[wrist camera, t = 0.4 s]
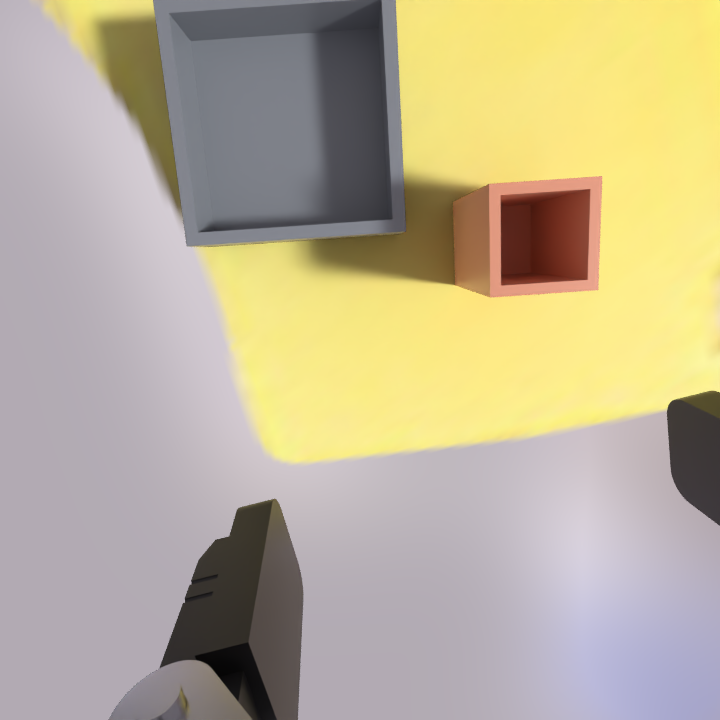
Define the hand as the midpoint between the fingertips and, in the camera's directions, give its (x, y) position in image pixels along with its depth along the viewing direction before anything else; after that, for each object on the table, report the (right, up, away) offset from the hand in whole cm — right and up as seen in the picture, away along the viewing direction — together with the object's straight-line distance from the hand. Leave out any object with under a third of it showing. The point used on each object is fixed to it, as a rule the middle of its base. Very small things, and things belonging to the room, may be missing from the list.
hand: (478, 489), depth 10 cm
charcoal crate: (-7, +18, +25) cm, 32 cm away
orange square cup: (+8, +11, +27) cm, 30 cm away
